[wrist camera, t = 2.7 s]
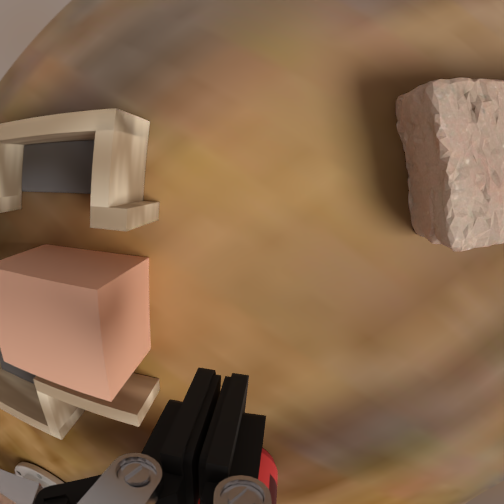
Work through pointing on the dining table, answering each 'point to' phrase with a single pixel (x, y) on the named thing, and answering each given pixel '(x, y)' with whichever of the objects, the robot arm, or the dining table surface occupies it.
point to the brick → (455, 160)
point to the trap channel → (101, 216)
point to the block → (75, 316)
